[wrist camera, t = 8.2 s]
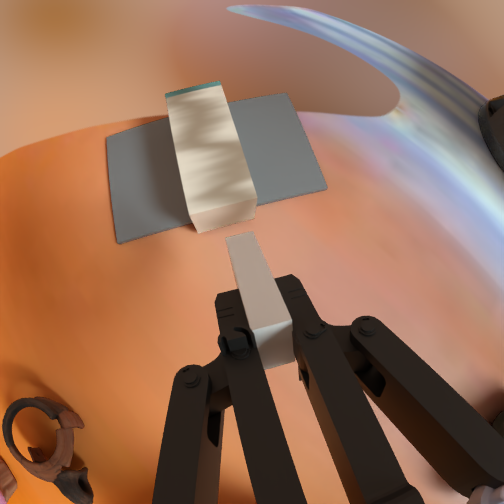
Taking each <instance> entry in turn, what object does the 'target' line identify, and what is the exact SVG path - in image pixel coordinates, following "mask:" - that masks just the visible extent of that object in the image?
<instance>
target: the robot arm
mask: <svg viewBox="0 0 504 504" xmlns="http://www.w3.org/2000/svg"><path fill="white" fill-rule="evenodd" d="M479 124H480V128H481V131H482V134H483V137H484V139H485V141H486V143H487V145H488V147H489V149H490V151H491V153H492V155H493V156H494V158H495V160H496V161H497V163H498V164H499V166H500V167H501V168H502V170H503V171H504V95H502V96H499V97H496V98H493V99H490V100H489V101H487V102H486V103H485V104H484V105H483V106H482V107H481V108H480V110H479ZM225 239H226V243H227V248H228V252H229V256H230V260H231V264H232V269H233V273H234V277H235V281H236V284H237V288H238V289H235V290H231V291H227V292H223V293H219V294H217V297H216V300H215V308H216V314H217V319H218V325H219V330H220V335H219V337H218V345H219V348H220V350H221V353H220V354H219V356H218V357H217V358H216V359H215V360H214V361H212V362H211V363H209V364H207V365H205V366H203V367H201V366H200V365H194V364H193V365H187V366H185V367H183V368H181V369H180V370H179V371H178V372H177V373H176V376H175V378H174V382H173V386H172V391H171V396H170V401H169V406H168V412H167V417H166V422H165V427H164V433H163V438H162V444H161V450H160V456H159V462H158V468H157V474H156V480H155V487H154V494H153V501H152V504H218V490H219V476H220V463H221V450H222V437H223V425H224V412H225V409H226V408H228V407H230V406H231V405H233V408H234V413H235V417H236V421H237V426H238V430H239V435H240V439H241V443H242V447H243V452H244V456H245V460H246V464H247V468H248V472H249V476H250V480H251V484H252V487H253V491H254V495H255V499H256V502H257V504H307V501H306V498H305V495H304V493H303V490H302V487H301V484H300V481H299V478H298V475H297V472H296V469H295V466H294V463H293V460H292V456H291V453H290V450H289V447H288V444H287V441H286V438H285V435H284V432H283V429H282V426H281V422H280V419H279V416H278V413H277V410H276V407H275V403H274V400H273V397H272V394H271V391H270V387H269V384H268V381H267V378H266V374H265V371H264V370H266V369H270V368H273V367H277V366H281V365H284V364H288V363H291V362H294V361H295V358H296V360H297V363H298V370H299V381H301V380H302V381H303V384H304V386H305V389H306V391H307V394H308V397H309V399H310V402H311V404H312V407H313V410H314V412H315V415H316V417H317V420H318V422H319V425H320V428H321V430H322V433H323V435H324V438H325V441H326V443H327V446H328V448H329V451H330V453H331V456H332V459H333V461H334V464H335V466H336V469H337V472H338V474H339V477H340V479H341V482H342V484H343V487H344V490H345V492H346V495H347V497H348V500H349V503H350V504H425V503H424V501H423V498H422V496H421V495H420V493H419V491H418V490H417V489H416V488H415V487H413V486H412V485H410V484H409V483H408V482H407V480H406V478H405V476H404V474H403V472H402V469H401V467H400V465H399V463H398V461H397V459H396V457H395V455H394V453H393V450H392V448H391V446H390V444H389V442H388V440H387V438H386V436H385V434H384V432H383V430H382V428H381V426H380V424H379V422H378V420H377V418H376V416H375V414H374V412H373V410H372V408H371V406H370V404H369V402H368V400H367V398H366V396H365V394H364V392H365V393H366V394H367V395H368V396H369V397H370V398H371V400H372V401H373V402H374V403H375V404H376V405H377V406H378V407H379V408H380V410H381V411H382V412H383V413H384V414H385V415H386V416H387V417H388V418H389V420H390V421H391V422H392V423H393V424H394V425H395V426H396V427H397V428H398V430H399V431H400V432H401V433H402V434H403V435H404V436H405V437H406V438H407V440H408V441H409V442H410V443H411V444H412V445H413V446H414V447H415V448H416V449H417V451H418V452H419V453H420V454H421V455H422V456H423V457H424V458H425V459H426V460H427V462H428V463H429V464H430V465H431V466H432V467H433V468H434V469H435V470H436V471H437V473H438V474H439V475H440V476H441V477H442V478H443V479H444V480H445V481H446V482H447V483H448V484H449V485H450V486H451V487H452V488H453V489H454V490H455V491H457V492H458V493H460V494H461V495H463V496H465V497H467V498H469V501H468V502H467V504H504V439H503V438H502V436H501V435H500V434H499V433H498V432H497V431H496V430H495V429H494V428H493V427H492V426H491V425H490V424H489V423H488V422H487V421H486V420H485V419H484V418H483V417H482V416H481V415H480V414H479V413H478V412H477V411H476V410H475V409H474V408H473V407H472V406H471V405H470V404H469V403H467V402H466V401H465V400H464V399H463V398H462V397H461V396H460V395H459V394H458V393H457V392H456V391H455V390H454V389H453V388H452V387H451V386H450V385H449V384H448V383H447V382H446V381H445V380H444V379H443V378H442V377H440V376H439V375H438V374H437V373H436V372H435V371H434V370H433V369H432V368H431V367H430V366H429V365H428V364H427V363H426V362H425V361H423V360H422V359H421V358H420V357H419V356H418V355H417V354H416V353H415V352H414V351H413V350H412V349H411V348H409V347H408V346H407V345H406V344H405V343H404V342H403V341H402V340H401V339H400V338H399V337H397V336H396V335H395V334H394V333H393V332H392V331H391V330H390V329H389V328H387V327H386V326H385V325H384V324H383V323H382V322H381V321H380V320H378V319H377V318H375V317H372V316H361V317H359V318H356V319H355V320H354V321H353V322H352V325H349V326H333V325H329V324H327V323H326V322H325V321H323V320H321V318H320V317H319V315H318V313H317V311H316V310H315V308H314V306H313V304H312V302H311V300H310V298H309V296H308V295H307V293H306V291H305V289H304V287H303V285H302V283H301V282H300V280H299V279H298V278H296V277H295V276H294V275H292V274H290V275H287V276H283V277H279V278H275V279H274V278H273V275H272V273H271V271H270V269H269V266H268V264H267V262H266V259H265V257H264V255H263V253H262V250H261V248H260V246H259V244H258V241H257V239H256V237H255V235H254V232H253V231H251V232H247V233H242V234H238V235H234V236H230V237H226V238H225ZM362 389H363V390H362ZM363 391H364V392H363Z"/></svg>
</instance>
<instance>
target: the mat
mask: <svg viewBox="0 0 504 504" xmlns="http://www.w3.org/2000/svg"><path fill="white" fill-rule="evenodd" d="M227 104H228V107H229V110H230V113H231V116H232V119H233V122H234V125H235V128H236V131H237V134H238V137H239V140H240V144H241V147H242V150H243V153H244V156H245V159H246V162H247V165H248V169H249V172H250V175H251V178H252V181H253V185H254V188H255V191H256V194H257V197H258V198H257V204H256V206H260V205H264V204H268V203H272V202H276V201H280V200H284V199H289V198H293V197H297V196H301V195H306V194H310V193H315V192H319V191H323V190H327V188H328V187H327V185H326V182H325V180H324V177H323V174H322V172H321V169H320V167H319V164H318V162H317V160H316V157H315V155H314V152H313V150H312V147H311V145H310V143H309V140H308V138H307V136H306V133H305V131H304V129H303V127H302V124H301V122H300V120H299V118H298V115H297V113H296V111H295V109H294V107H293V105H292V102H291V100H290V98H289V96H288V94H287V93H282V94H274V95H268V96H261V97H255V98H250V99H244V100H239V101H234V102H229V103H227ZM107 156H108V170H109V181H110V191H111V201H112V209H113V217H114V224H115V231H116V238H117V243H118V244H122V243H125V242H129V241H132V240H135V239H139V238H142V237H145V236H149V235H152V234H156V233H159V232H163V231H166V230H170V229H173V228H177V227H180V226H184V225H187V224H191V223H193V222H192V220H191V218H190V216H189V212H188V208H187V203H186V199H185V194H184V190H183V185H182V181H181V176H180V171H179V166H178V161H177V156H176V151H175V146H174V141H173V136H172V131H171V125H170V120H169V117H167V118H164V119H160V120H157V121H154V122H150V123H147V124H144V125H141V126H138V127H135V128H132V129H129V130H126V131H123V132H120V133H117V134H115V135H112V136H109V137H107Z"/></svg>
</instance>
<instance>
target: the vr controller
mask: <svg viewBox="0 0 504 504" xmlns="http://www.w3.org/2000/svg"><path fill="white" fill-rule="evenodd" d="M25 407H36V408H39V409H41V410H42V411H43V412H45V413H46V414H47V415H48V416H49V418H50V419H52V420H53V419H57V420H58V422H59V424H60V426H61V428H59V429H57V430H56V436H57V445H56V449H55V452H54V453H53V455H52V456H51V458H50V459H49V460H46V458H45V457H44V455H43V454H42V452H41V450H40V448H32V447H28V451H29V453H30V455H31V458H32V460H33V462H31V461H29V460H27V459H26V458H25V457H24V456H23V455H22V454H21V453H20V452H19V450H18V449H17V447H16V446H15V444H14V441H13V436H12V423H13V419H14V417H15V415H16V414H17V413H18V412H19V411H20V410H21V409H23V408H25ZM76 427H77V428H81V429H83V428H84V424H83V422H82V420H81V419H80V417H79V416H78V415H77V414H75V413H74V412H73V411H68V408H67V407H66V406H64V405H62V404H60V403H58V402H55V401H53V400H51V399H48V398H44V397H35V398H21V399H19V400H16V401H14V402H13V403H12V404H11V405H10V406H9V407H8V409H7V410H6V413H5V415H4V419H3V424H2V429H3V436H4V439H5V442H6V445H7V446H8V448H9V450H10V452H11V453H12V455H13V456H14V457H15V458H16V460H18V461H19V462H20V463H21V464H22V466H23V467H24V468H25V469H26V470H27V471H29V472H30V473H31V474H32V475H34V476H36V477H37V478H39V479H42V480H45V481H47V482H53V483H54V484H55V485H56V486H57V487H58V488H59V490H60V491H61V492H62V494H63V495H64V496H66V497H67V498H68V499H69V500H70V501H72V502H73V503H75V504H92V503H93V491H92V488H91V486H90V484H89V482H88V479H87V471H88V469H87V468H86V467H83V468H82V469H81V470H77V471H76V470H65V471H63V470H61V468H62V466H65V467H69V466H70V463H71V459H72V455H73V445H74V434H73V429H72V428H76Z"/></svg>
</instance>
